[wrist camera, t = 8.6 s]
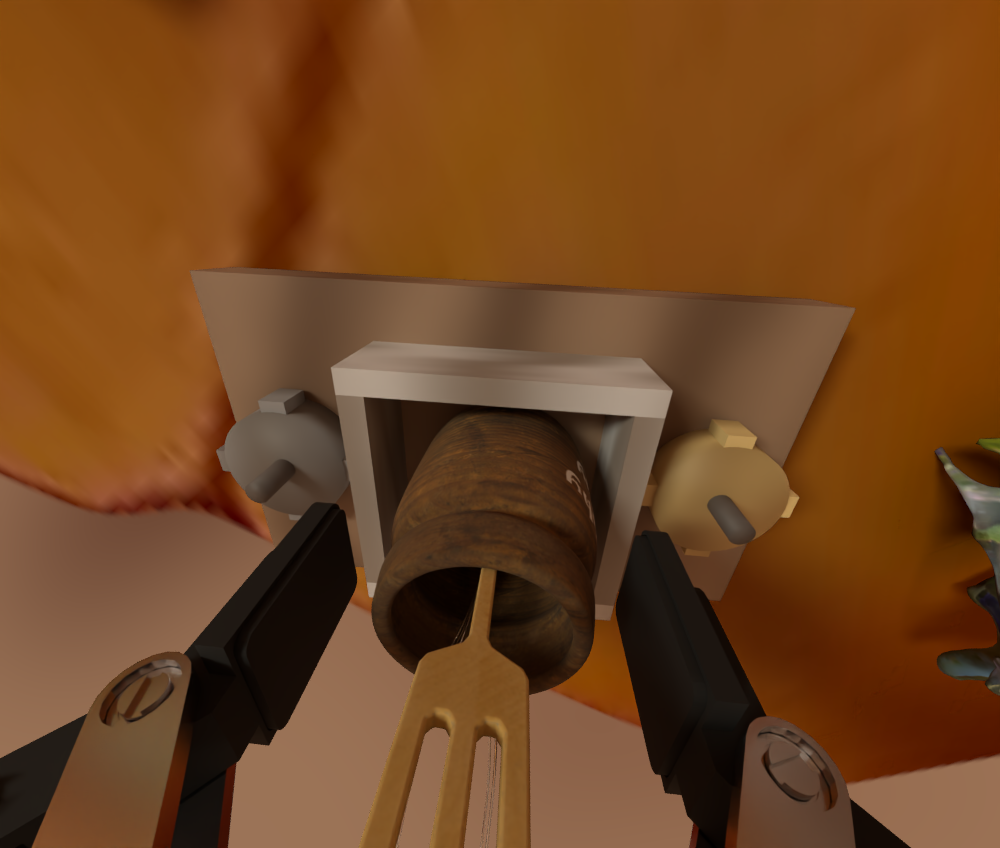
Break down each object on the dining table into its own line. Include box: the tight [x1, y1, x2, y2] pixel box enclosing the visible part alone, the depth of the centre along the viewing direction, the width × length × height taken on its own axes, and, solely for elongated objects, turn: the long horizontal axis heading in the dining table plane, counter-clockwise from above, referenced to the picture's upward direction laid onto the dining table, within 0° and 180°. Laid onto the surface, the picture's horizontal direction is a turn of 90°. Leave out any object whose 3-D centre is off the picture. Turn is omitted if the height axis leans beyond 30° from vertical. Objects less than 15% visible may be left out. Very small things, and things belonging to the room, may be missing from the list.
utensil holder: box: [359, 405, 597, 848], centre depth 9 cm, size 6×6×12 cm
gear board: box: [190, 267, 856, 621], centre depth 14 cm, size 21×13×5 cm, turn 87°
